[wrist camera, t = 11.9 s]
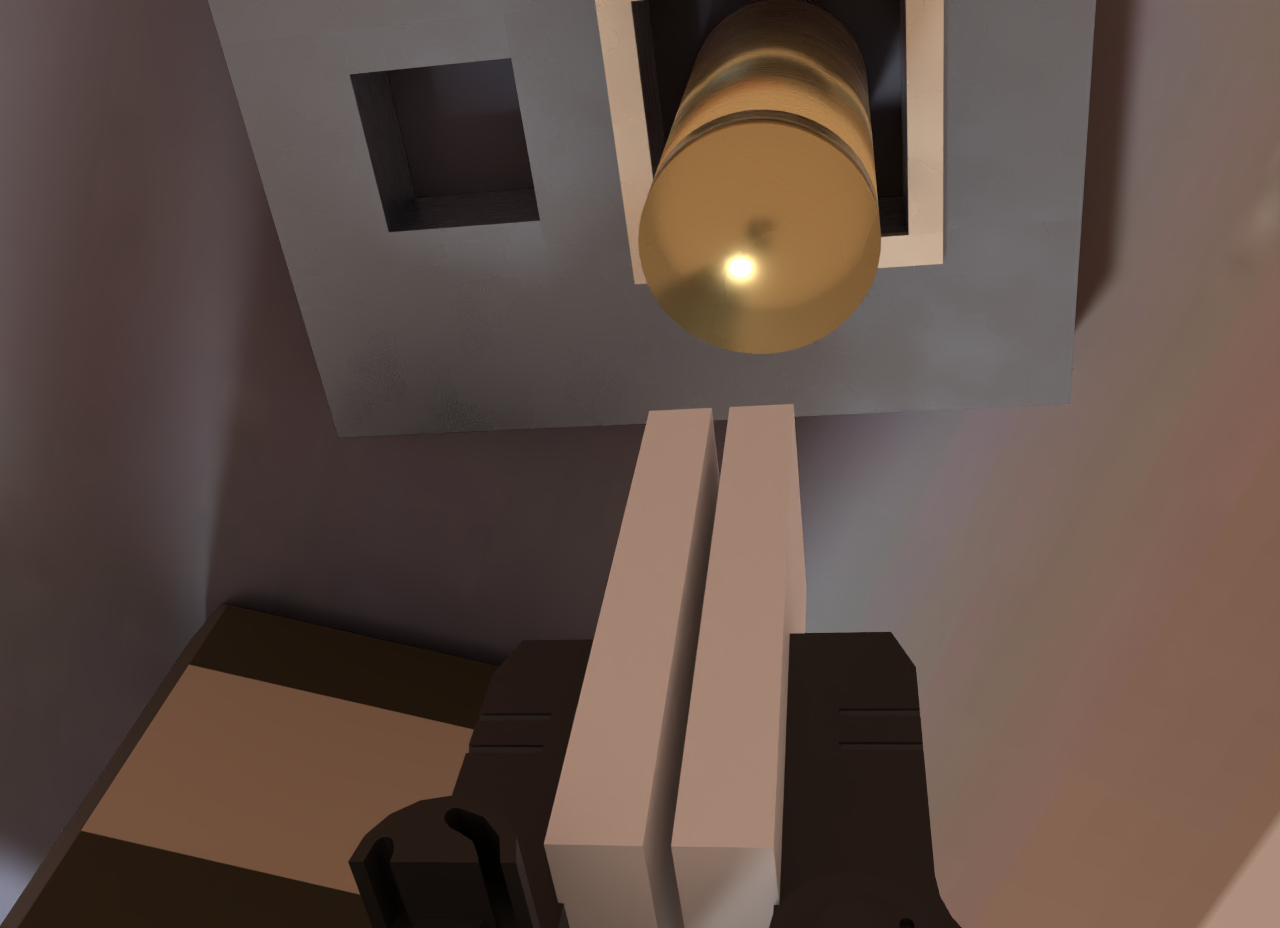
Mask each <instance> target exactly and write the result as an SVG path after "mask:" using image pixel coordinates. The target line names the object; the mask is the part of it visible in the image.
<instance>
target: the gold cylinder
mask: <svg viewBox="0 0 1280 928" xmlns="http://www.w3.org/2000/svg"><path fill="white" fill-rule="evenodd" d="M638 245H639V257H640V261H641V266H642V270H643V273H644V276H645V279H646V281H647V284H648V286H649V288H650V290H651V292H652V293H653V295H654V297H655V298H656V300H657V301H658V303H659V304H660V306H661V307H662V308H663V310H664V311H665V312H666V313H667V314H668V315H669V316H670V317H671V318H672V319H673V320H674V321H675V322H676V323H677V324H678V325H680V326H681V327H682V328H683V329H685V330H686V331H688V332H689V333H691V334H692V335H694V336H695V337H697V338H699V339H701V340H703V341H705V342H707V343H709V344H711V345H714V346H717V347H720V348H722V349H726V350H731V351H735V352H741V353H749V354H770V353H779V352H785V351H789V350H793V349H797V348H800V347H803V346H806V345H808V344H811V343H813V342H815V341H817V340H819V339H821V338H823V337H825V336H826V335H828V334H829V333H831V332H832V331H834V330H835V329H837V328H838V327H839V326H840V325H841V324H842V323H843V322H845V321H846V320H847V319H848V318H849V317H850V316H851V315H852V314H853V312H854V311H855V310H856V309H857V308H858V307H859V305H860V304H861V302H862V301H863V299H864V298H865V296H866V295H867V293H868V291H869V289H870V287H871V285H872V283H873V280H874V277H875V274H876V271H877V268H878V263H879V258H880V253H881V230H880V219H879V207H878V196H877V185H876V174H875V163H874V151H873V140H872V129H871V118H870V106H869V95H868V84H867V74H866V68H865V63H864V59H863V56H862V54H861V51H860V49H859V47H858V45H857V43H856V41H855V39H854V38H853V36H852V35H851V34H850V32H849V31H848V30H847V28H846V27H845V26H844V25H843V24H842V23H841V22H840V21H839V20H838V19H836V18H835V17H834V16H832V15H831V14H830V13H828V12H827V11H825V10H823V9H821V8H819V7H817V6H815V5H812V4H810V3H807V2H803V1H799V0H763V1H759V2H755V3H752V4H749V5H747V6H745V7H743V8H740V9H738V10H737V11H735V12H733V13H732V14H730V15H729V16H727V17H726V18H725V19H724V20H723V21H721V22H720V23H719V24H718V25H717V26H716V27H715V28H714V29H713V31H712V32H711V33H710V34H709V36H708V37H707V38H706V40H705V41H704V43H703V45H702V47H701V49H700V50H699V52H698V55H697V58H696V60H695V63H694V66H693V69H692V72H691V74H690V77H689V80H688V83H687V86H686V89H685V91H684V94H683V97H682V100H681V103H680V106H679V108H678V111H677V114H676V117H675V120H674V123H673V125H672V128H671V131H670V134H669V137H668V139H667V142H666V145H665V148H664V151H663V154H662V156H661V159H660V162H659V165H658V168H657V171H656V173H655V176H654V179H653V182H652V185H651V188H650V190H649V193H648V196H647V199H646V202H645V205H644V207H643V210H642V214H641V219H640V224H639V235H638Z"/></svg>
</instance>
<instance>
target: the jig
mask: <svg viewBox="0 0 1280 928" xmlns="http://www.w3.org/2000/svg"><path fill="white" fill-rule="evenodd" d="M208 3H209V7H210V10H211V13H212V17H213V20H214V23H215V27H216V30H217V33H218V37H219V40H220V43H221V47H222V50H223V53H224V57H225V60H226V63H227V67H228V70H229V73H230V77H231V80H232V83H233V87H234V90H235V93H236V97H237V100H238V103H239V107H240V110H241V113H242V117H243V120H244V123H245V127H246V130H247V133H248V137H249V140H250V143H251V147H252V150H253V153H254V157H255V160H256V163H257V167H258V170H259V174H260V177H261V180H262V184H263V187H264V190H265V194H266V197H267V200H268V204H269V207H270V210H271V214H272V217H273V220H274V224H275V227H276V230H277V234H278V237H279V240H280V244H281V247H282V250H283V254H284V257H285V260H286V264H287V267H288V270H289V274H290V277H291V280H292V284H293V287H294V290H295V294H296V297H297V300H298V304H299V307H300V310H301V314H302V317H303V320H304V324H305V327H306V330H307V334H308V337H309V340H310V344H311V347H312V350H313V354H314V357H315V360H316V364H317V367H318V371H319V374H320V377H321V381H322V384H323V387H324V391H325V394H326V397H327V401H328V404H329V407H330V411H331V414H332V417H333V421H334V424H335V427H336V431H337V434H338V437H339V438H345V437H367V436H388V435H410V434H432V433H453V432H475V431H497V430H518V429H540V428H562V427H583V426H605V425H627V424H646V422H647V418H648V414H649V411H657V410H678V409H698V408H712V415H713V420H728V415H729V408H730V407H740V406H761V405H782V404H794V417H800V416H821V415H843V414H865V413H886V412H908V411H930V410H951V409H973V408H995V407H1016V406H1038V405H1060V404H1070V391H1071V375H1072V360H1073V345H1074V330H1075V314H1076V299H1077V284H1078V269H1079V253H1080V238H1081V223H1082V208H1083V192H1084V177H1085V162H1086V147H1087V131H1088V116H1089V101H1090V86H1091V71H1092V55H1093V40H1094V25H1095V10H1096V0H900V43H901V109H902V176H903V196H893V197H880V198H878V207H879V219H880V230H881V253H880V258H879V263H878V268H877V271H876V274H875V277H874V280H873V283H872V285H871V287H870V289H869V291H868V293H867V295H866V296H865V298H864V299H863V301H862V302H861V304H860V305H859V307H858V308H857V309H856V310H855V311H854V312H853V314H852V315H851V316H850V317H849V318H848V319H847V320H846V321H845V322H843V323H842V324H841V325H840V326H839V327H838V328H837V329H835V330H834V331H832V332H831V333H829V334H828V335H826V336H825V337H823V338H821V339H819V340H817V341H815V342H813V343H811V344H808V345H806V346H803V347H800V348H797V349H793V350H789V351H785V352H779V353H770V354H749V353H741V352H735V351H731V350H726V349H722V348H720V347H717V346H714V345H711V344H709V343H707V342H705V341H703V340H701V339H699V338H697V337H695V336H694V335H692V334H691V333H689V332H688V331H686V330H685V329H683V328H682V327H681V326H680V325H678V324H677V323H676V322H675V321H674V320H673V319H672V318H671V317H670V316H669V315H668V314H667V313H666V312H665V311H664V310H663V308H662V307H661V306H660V304H659V303H658V301H657V300H656V298H655V297H654V295H653V293H652V292H651V290H650V288H649V286H648V284H647V281H646V279H645V276H644V273H643V270H642V266H641V261H640V257H639V245H638V235H639V224H640V219H641V214H642V210H643V207H644V205H645V202H646V199H647V196H648V193H649V190H650V188H651V185H652V182H653V179H654V176H655V173H656V171H657V168H658V165H659V162H660V159H661V156H662V154H663V151H664V148H665V137H664V128H663V120H662V111H661V103H660V94H659V86H658V77H657V69H656V61H655V52H654V44H653V35H652V27H651V18H650V10H649V1H648V0H208ZM505 58H511V61H512V66H513V72H514V77H515V83H516V88H517V94H518V100H519V105H520V111H521V116H522V122H523V128H524V133H525V139H526V144H527V150H528V155H529V161H530V167H531V172H532V178H533V183H534V188H531V189H519V190H507V191H495V192H483V193H470V194H458V195H446V196H434V197H422V198H416V195H415V190H414V186H413V182H412V178H411V173H410V169H409V165H408V160H407V156H406V152H405V147H404V143H403V139H402V135H401V130H400V126H399V122H398V117H397V113H396V109H395V105H394V100H393V96H392V92H391V87H390V83H389V79H388V74H387V71H388V70H397V69H407V68H417V67H427V66H437V65H446V64H456V63H466V62H476V61H486V60H496V59H505Z"/></svg>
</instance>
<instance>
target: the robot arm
mask: <svg viewBox="0 0 1280 928" xmlns="http://www.w3.org/2000/svg"><path fill="white" fill-rule="evenodd" d="M805 629H806V574H805V560H804V545H803V531H802V517H801V503H800V489H799V474H798V460H797V446H796V432H795V418H794V404H782V405H761V406H740V407H730V408H729V415H728V423H727V430H726V438H725V445H724V453H723V460H722V468H721V475H720V478H719V469H718V460H717V451H716V442H715V433H714V424H713V415H712V408H698V409H678V410H657V411H649V414H648V418H647V422H646V427H645V431H644V435H643V439H642V443H641V447H640V451H639V455H638V459H637V463H636V468H635V472H634V476H633V480H632V484H631V488H630V492H629V496H628V500H627V505H626V509H625V513H624V517H623V521H622V525H621V529H620V533H619V537H618V542H617V546H616V550H615V554H614V558H613V562H612V566H611V570H610V574H609V579H608V583H607V587H606V591H605V595H604V599H603V603H602V607H601V611H600V615H599V620H598V624H597V628H596V632H595V636H594V640H527V641H522V642H521V643H520V644H519V645H518V647H517V648H516V649H515V650H514V651H513V652H512V653H511V654H510V656H509V657H508V658H507V659H506V660H505V661H504V662H503V663H502V664H501V666H500V667H499V668H498V669H497V670H496V671H495V672H494V673H493V674H492V677H491V680H490V683H489V686H488V689H487V692H486V695H485V698H484V701H483V704H482V707H481V710H480V713H479V714H480V719H479V721H477V722H476V725H475V728H474V731H473V734H472V736H471V739H470V742H469V753H466V754H465V757H464V760H463V763H462V766H461V769H460V772H459V775H458V778H457V781H456V784H455V787H454V790H453V793H452V796H445V797H439V798H432V799H425V800H420V801H418V802H416V803H413V804H411V805H409V806H407V807H404V808H402V809H400V810H398V811H396V812H393V813H391V814H389V815H388V816H387V817H386V818H385V819H383V820H382V821H381V822H380V823H379V824H377V825H376V826H375V827H374V828H373V829H372V830H370V831H369V832H368V833H367V834H366V835H364V837H363V838H362V840H361V842H360V843H359V845H358V846H357V848H356V850H355V851H354V853H353V855H352V856H351V858H350V859H349V861H348V863H349V866H350V869H351V871H352V874H353V877H354V879H355V882H356V885H357V887H358V890H359V893H360V895H361V898H362V901H363V903H364V906H365V909H366V911H367V914H368V917H369V919H370V922H371V925H372V927H373V928H961V927H960V925H959V924H958V923H957V922H956V921H955V920H954V919H953V918H952V917H951V915H950V913H949V911H948V910H947V908H946V906H945V904H944V902H943V901H942V899H941V897H940V894H939V890H938V886H937V882H936V878H935V872H934V861H933V850H932V839H931V828H930V817H929V806H928V795H927V784H926V774H925V763H924V752H923V741H922V730H921V719H920V708H919V697H918V686H917V675H916V667H915V665H914V664H913V663H912V661H911V660H910V658H909V657H908V655H907V654H906V653H905V651H904V650H903V648H902V647H901V646H900V644H899V643H898V641H897V640H896V638H895V637H894V636H893V634H892V633H891V632H855V633H805Z"/></svg>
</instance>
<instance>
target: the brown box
mask: <svg viewBox="0 0 1280 928" xmlns="http://www.w3.org/2000/svg"><path fill="white" fill-rule="evenodd" d="M498 668H499V666H495V665H491V664H486V663H482V662H477V661H473V660H469V659H464V658H460V657H455V656H451V655H447V654H442V653H438V652H434V651H429V650H425V649H420V648H416V647H412V646H407V645H403V644H398V643H394V642H390V641H385V640H381V639H376V638H372V637H368V636H363V635H359V634H354V633H350V632H346V631H341V630H337V629H332V628H328V627H324V626H319V625H315V624H310V623H306V622H302V621H297V620H293V619H288V618H284V617H280V616H275V615H271V614H266V613H262V612H258V611H253V610H249V609H244V608H240V607H236V606H231V605H226V604H221V605H220V606H219V607H218V608H217V609H216V611H215V612H214V613H213V614H212V615H211V616H210V618H209V619H208V620H207V621H206V622H205V624H204V625H203V626H202V627H201V628H200V629H199V631H198V632H197V633H196V634H195V635H194V637H193V638H192V639H191V640H190V642H189V643H188V645H187V646H186V648H185V649H184V651H183V652H182V654H181V655H180V657H179V658H178V660H177V661H176V663H175V664H174V666H173V667H172V669H171V670H170V672H169V673H168V675H167V676H166V678H165V679H164V681H163V682H162V684H161V685H160V687H159V688H158V690H157V691H156V693H155V694H154V696H153V697H152V699H151V700H150V702H149V703H148V705H147V706H146V708H145V709H144V711H143V712H142V714H141V715H140V717H139V718H138V720H137V721H136V723H135V724H134V726H133V727H132V729H131V730H130V732H129V733H128V735H127V736H126V738H125V739H124V741H123V742H122V744H121V745H120V747H119V748H118V750H117V751H116V753H115V754H114V756H113V757H112V759H111V760H110V762H109V763H108V765H107V766H106V768H105V769H104V771H103V772H102V774H101V775H100V777H99V778H98V780H97V781H96V783H95V784H94V786H93V787H92V789H91V790H90V792H89V793H88V795H87V796H86V798H85V799H84V801H83V802H82V804H81V805H80V807H79V808H78V810H77V811H76V813H75V814H74V816H73V817H72V819H71V820H70V822H69V823H68V825H67V826H66V828H65V829H64V831H63V832H62V834H61V835H60V837H59V838H58V840H57V841H56V843H55V844H54V846H53V847H52V849H51V850H50V852H49V853H48V855H47V856H46V858H45V859H44V861H43V862H42V864H41V865H40V867H39V868H38V870H37V872H36V873H35V875H34V876H33V878H32V879H31V881H30V882H29V884H28V885H27V887H26V888H25V890H24V891H23V893H22V894H21V896H20V897H19V899H18V900H17V902H16V903H15V905H14V906H13V908H12V909H11V911H10V912H9V914H8V915H7V917H6V918H5V920H4V921H3V923H2V924H1V926H0V928H373V927H372V925H371V922H370V919H369V917H368V914H367V911H366V909H365V906H364V903H363V901H362V898H361V895H360V893H359V890H358V887H357V885H356V882H355V879H354V877H353V874H352V871H351V869H350V866H349V863H348V861H349V859H350V858H351V856H352V855H353V853H354V851H355V850H356V848H357V846H358V845H359V843H360V842H361V840H362V838H363V837H364V835H366V834H367V833H368V832H369V831H370V830H372V829H373V828H374V827H375V826H376V825H377V824H379V823H380V822H381V821H382V820H383V819H385V818H386V817H387V816H388V815H389V814H391V813H393V812H396V811H398V810H400V809H402V808H404V807H407V806H409V805H411V804H413V803H416V802H418V801H420V800H425V799H432V798H439V797H445V796H452V793H453V790H454V787H455V784H456V781H457V778H458V775H459V772H460V769H461V766H462V763H463V760H464V757H465V754H466V753H469V742H470V739H471V736H472V734H473V731H474V728H475V725H476V722H477V721H479V719H480V714H479V713H480V710H481V707H482V704H483V701H484V698H485V695H486V692H487V689H488V686H489V683H490V680H491V677H492V674H493V673H494V672H495V671H496V670H497V669H498Z"/></svg>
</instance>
